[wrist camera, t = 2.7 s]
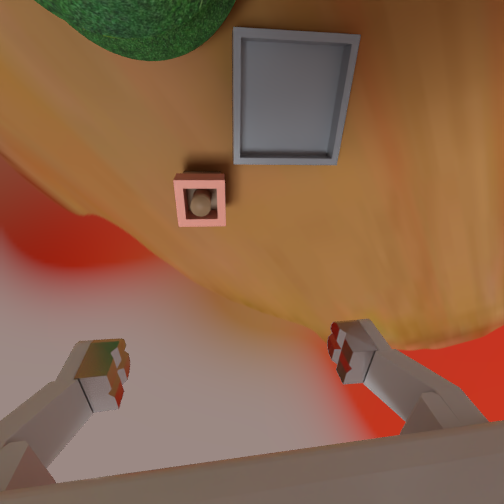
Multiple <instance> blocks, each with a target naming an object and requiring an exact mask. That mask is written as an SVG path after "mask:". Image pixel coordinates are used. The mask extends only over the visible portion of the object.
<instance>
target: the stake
mask: <svg viewBox="0 0 504 504" xmlns="http://www.w3.org/2000/svg"><path fill="white" fill-rule="evenodd" d="M183 174H221V172H187V171H184V172H183ZM186 192H187V202H188V211H192V213H193V214H195V215H196V216H200V217H202V216H206V215H207V214H208V213H209V212H210V210H217V189H186Z"/></svg>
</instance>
